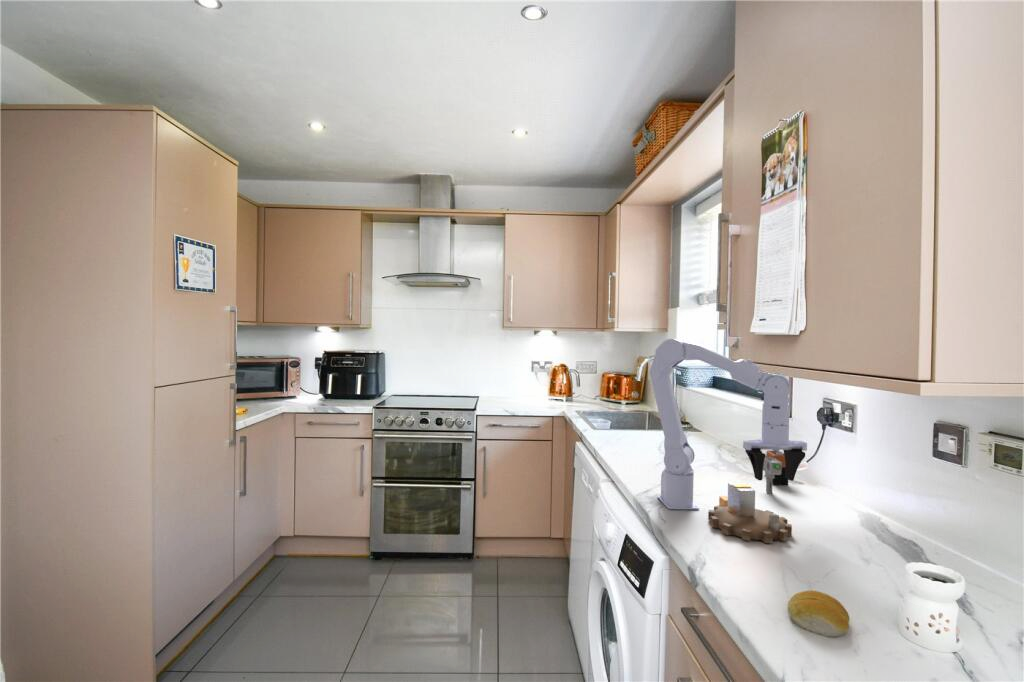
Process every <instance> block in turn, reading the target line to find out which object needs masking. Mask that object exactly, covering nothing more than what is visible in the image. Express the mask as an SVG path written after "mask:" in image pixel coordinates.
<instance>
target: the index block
mask: <svg viewBox="0 0 1024 682" xmlns="http://www.w3.org/2000/svg"><path fill="white" fill-rule="evenodd" d="M718 498H719V499H718V506H721V507H727V506H728V495H727V496H725V495H724V496H721V495H720V496H719V497H718Z"/></svg>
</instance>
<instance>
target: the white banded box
mask: <svg viewBox="0 0 1024 682" xmlns="http://www.w3.org/2000/svg"><path fill="white" fill-rule="evenodd" d="M727 497H728V507H729V508H730V509H731V510H733V511H734V512H735V513H737V514H738V515H739V516H755V509H756V490H755V489H753V488H752V486H750V485H749V484H747V483H746V484H745V483H743V482H727Z"/></svg>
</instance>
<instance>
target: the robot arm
mask: <svg viewBox="0 0 1024 682" xmlns="http://www.w3.org/2000/svg"><path fill="white" fill-rule="evenodd" d="M683 361H701V362H703V363H706V364H708V365H711V366H713V367H714V368H718V369H720V370H723V371H725V372H727V373H729V374H730V376H731V379H732V380H733V381H735V382H738V383H739V384H741V385H744V386H746V387H749V388H751V389H753V390H756V391H762V392H763V393H764V394H763V403H762V414H761V419H762V420H761V438H760V439H749V440H748V439H747V440H745V439H744V440H742V442H743V444H742V445H743V446H742V448H743V449H745V450H744V451H745V453H746V455H747V457H748V459H749V461H750V464H751V467H752V471H753V474H754V479H756V480H757V481H763V479H764V478H763V477H764V470H763V464H764V459H765V456H766V453H764V452H763V450H765V451H769V450H770V451H773V450H779V451H780V450H781V451H782V452H783V453H784V456H785V464H786V466H785V475H786V478H787V479H788V481H791V482H793V481H794V479H795V477H796V474H797V471H798V468H799V466H800V464H801V463H802V461H803V460H804V458H806V451H807V450H808V442H807V441H802V440H790V439H789V438H790V437H789V436H790V434H789V433H790V405H789V403H790V397H789V395H790V393H791V392H792V391H791V390H792V387H791V384H790V380H789V379H788V377H786V376H785V375H783V374H781V375H775V374H768V373H765V372H764V373H763V372H758V371H762V370H759V369H761V368H760V367H759V366H760V365H759V364H756V363H754V360H753V359H751V358H748V359H747V360H746V359H744V358H740V359H738V360H733V359H732V358H729V357H727V356H725V355H723V354H720V353H718V352H716V351H714V350H711V349H709V348H707V347H706V346H703V345H701V344H697V343H694V342H691V341H686V340H684V339H681V338H667V339H665V340H663V341H662V342H661V343H660V344H659V345H658V347H657V348H655V352H654V357H653V359H652V363H651V366H650V369H649V370H648V371H649V377H650V378H649V379H650V380H651V381H650V382H651V386H652V391H653V393H654V397H655V398H654V399H655V401H656V406H657V410H658V415H659V418H660V423H661V427H662V431H663V432H662V433H663V435H664V443H663V448H664V456H663V463H664V465H665V466H664V469H663V470H662V472H661V475H660V495H659V494H658V495H657V499H659V500H660V501H661V503H662V504H664V505H665V507H666V508H667V509H668V510H700V507H699V506H698V505H697V504H696V503H695V502H694V472H695V471H694V469H693V467H692V465H691V464H692V463H693V462H694V460H695V456H696V455H695V452H694V450H693V447H691V446H690V443H689V442H688V438H687V436H686V435H685V433H684V430H683V429H684V428H683V424H682V422H681V417H680V416H681V415H680V412H679V410H678V409H679V408H678V404H677V401H676V397H675V392H674V388H673V384H672V380H671V377H670V376H671V374H672V373H673V372H674V370H675V369H676V368H677V366H678V365H679V364H681V363H682V362H683ZM782 375H783V376H782Z"/></svg>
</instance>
